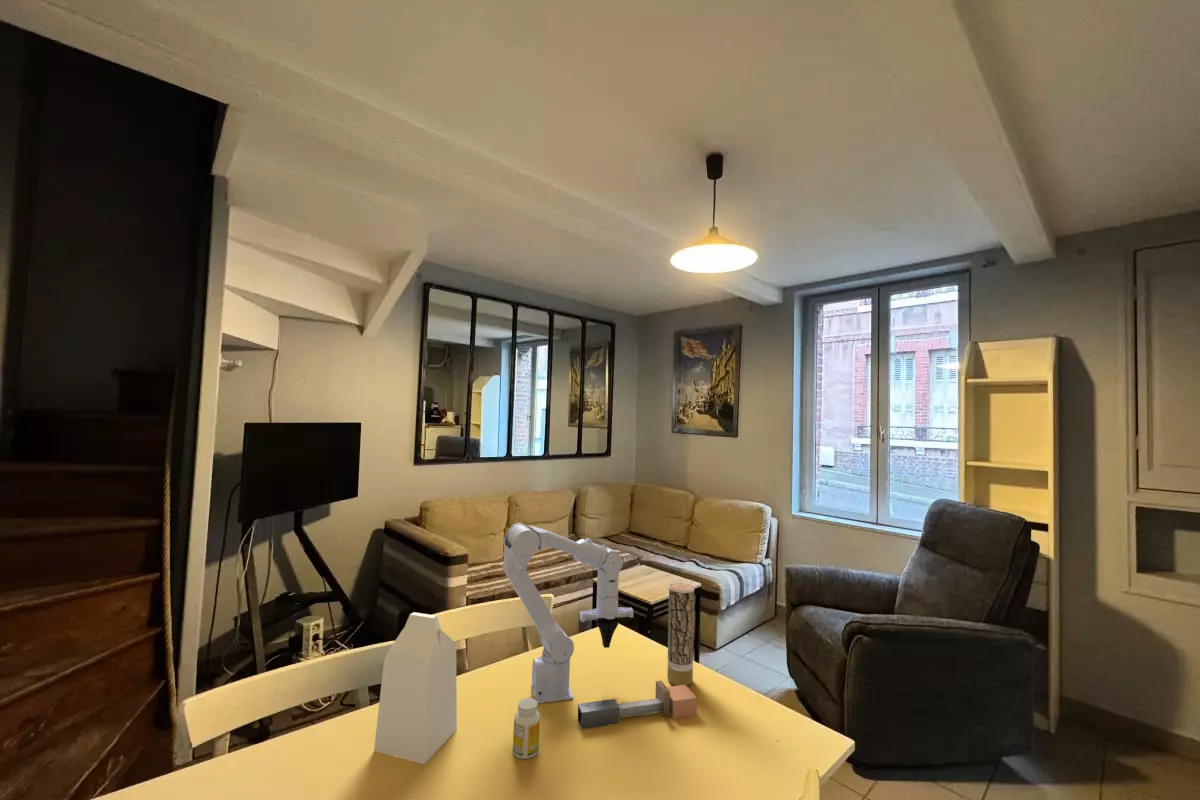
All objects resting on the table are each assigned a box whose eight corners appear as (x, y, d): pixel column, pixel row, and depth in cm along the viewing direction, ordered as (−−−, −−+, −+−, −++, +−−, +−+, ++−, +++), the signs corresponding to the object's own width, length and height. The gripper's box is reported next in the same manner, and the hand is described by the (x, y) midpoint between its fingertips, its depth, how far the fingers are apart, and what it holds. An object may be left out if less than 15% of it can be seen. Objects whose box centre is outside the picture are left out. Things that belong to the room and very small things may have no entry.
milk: (456, 729, 105) (462, 609, 107) (424, 764, 94) (431, 629, 96) (410, 719, 108) (416, 602, 110) (373, 751, 97) (381, 621, 99)
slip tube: (604, 725, 107) (605, 700, 108) (598, 712, 112) (599, 688, 112) (681, 713, 113) (681, 689, 113) (672, 702, 117) (672, 679, 118)
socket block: (673, 718, 111) (673, 700, 112) (662, 704, 117) (663, 687, 117) (696, 715, 113) (696, 697, 113) (684, 701, 119) (685, 684, 119)
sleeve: (581, 729, 106) (581, 712, 107) (577, 719, 110) (578, 703, 110) (619, 723, 109) (619, 707, 109) (614, 714, 112) (614, 698, 113)
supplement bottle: (511, 760, 96) (513, 711, 96) (513, 743, 101) (515, 696, 102) (538, 759, 96) (540, 710, 97) (539, 742, 102) (540, 695, 102)
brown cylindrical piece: (685, 690, 124) (687, 592, 125) (662, 681, 128) (664, 586, 129) (697, 680, 129) (698, 586, 131) (674, 672, 133) (676, 581, 135)
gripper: (585, 601, 122) (583, 655, 121) (637, 597, 126) (636, 650, 125) (578, 592, 129) (577, 643, 128) (628, 588, 133) (627, 638, 132)
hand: (606, 646), depth 127 cm, fingers closed
